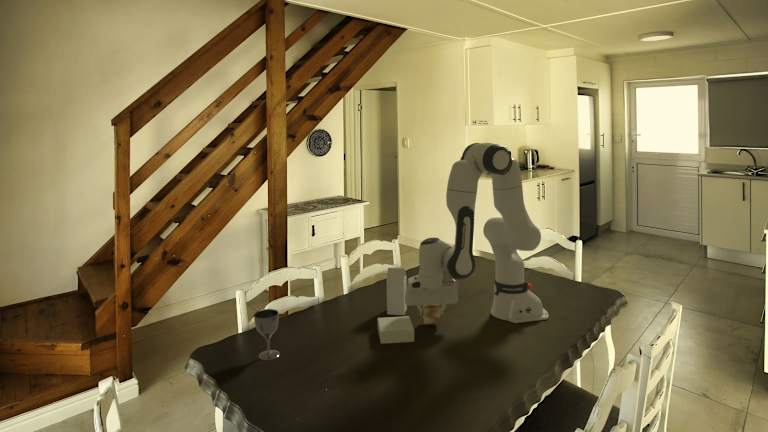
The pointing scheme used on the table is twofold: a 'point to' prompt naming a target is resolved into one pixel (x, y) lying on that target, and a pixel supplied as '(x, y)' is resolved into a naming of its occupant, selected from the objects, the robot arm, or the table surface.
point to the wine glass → (267, 330)
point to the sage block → (395, 329)
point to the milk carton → (396, 291)
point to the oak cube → (431, 314)
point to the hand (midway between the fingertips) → (431, 314)
